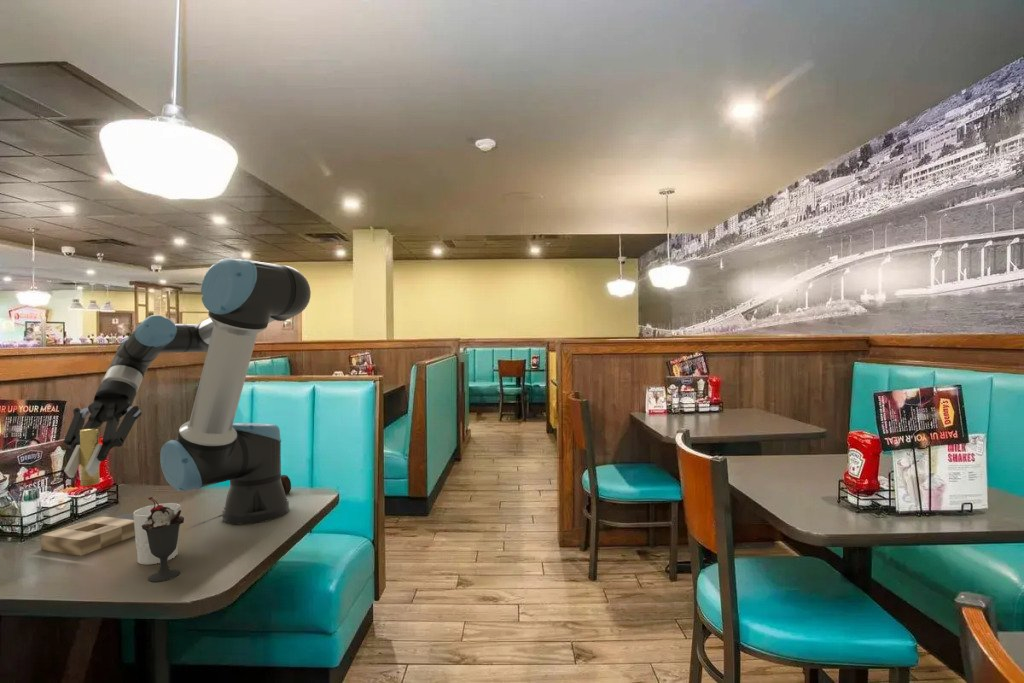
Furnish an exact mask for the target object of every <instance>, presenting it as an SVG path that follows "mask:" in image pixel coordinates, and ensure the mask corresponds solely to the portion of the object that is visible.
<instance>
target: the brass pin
mask: <svg viewBox="0 0 1024 683" xmlns="http://www.w3.org/2000/svg"><path fill="white" fill-rule="evenodd" d="M99 430H100V428H99V427H98V428H89V429H83V428H82V430H80V465H79V468H80V471H79V472H80V487H89V486H94V485H98V484H100V483H101V482H100V466H99V467H98V469H97V472H96V474H95V476H92V477H90V475H89V474H88V473H87V472H86V470H85V469H86V467H87V465H88V462H89V460H90V458H91V456H92V454H93V452H94V449H95V447H96V445H97V444H100V442H99V441H100V436H99V435H100V432H99Z"/></svg>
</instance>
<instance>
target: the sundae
mask: <svg viewBox="0 0 1024 683" xmlns="http://www.w3.org/2000/svg"><path fill="white" fill-rule="evenodd" d="M148 500H150V501H152V502H153V505H154V508H152V509H151V510H150V512H151V515H149V516H148V517H147V520H146V521H145V524H144V525H142V526H141V527H142V529H144V530H146V532H147V537H148V542H149V548H150V551H151V554H153V555H154V556H155V557H158V558H159V559H160V563H159V569H158V571H157V572H155V573H152V574H150V575H149V576H148V578H147V581H148V582H151V583H158V582H159V583H160V582H164V581H169V580H171V578H172V579H173V578H176V577H178V576H179V574H180V570H179V569H173V568H171V569H170V568H169V565H168V564H169V562H168V561H169V560H168V557H169V556H170V555H171V554H172V553H173V552H174V550H175V549H176V546H177V541H178V533H179V534H180V528H179V527H180V526H181V524H183V523H184V521H185V517H184V516H181V513H182V510H181V509H180V510H179V511H178V512H177V513H176V514H174V510H172V509H171V508H169V507H163V506H162V505H159V504H160V503H158V502H157V500H155V499H154V498H153V497H152V496H151V497H148ZM155 504H157V505H158V506H157V507H156V508H155ZM178 542H179V541H178ZM175 576H176V577H175Z"/></svg>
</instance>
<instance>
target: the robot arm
mask: <svg viewBox="0 0 1024 683" xmlns="http://www.w3.org/2000/svg"><path fill="white" fill-rule="evenodd" d="M311 293H312V291H311V287H310V284H309V282H308V280H307V278H306V277H305V275H304V274H303V273H302V272H300V271H299V270H297V269H296V268H294V267H291V266H288V265H285V264H275V263H269V262H263V261H262V262H261V261H256V260H251V259H246V258H230V257H229V258H226V257H225V258H222V259H219V260H218V261H217V262H215V263H213V264H212V265H210V267H209V268H208V269H207V271H206V273H205V275H204V277H203V280H202V281H201V287H200V294H201V295H202V297H201V301H202V304H203V306H204V308H205V309H206V310H207V311H208V313H207V314H208V318H207V319H205V320H202V321H200V322H198V323H174V321H173V320H171V319H170V318H169V317H165V316H163V315H161V314H160V315H159V314H153V315H149V316H147V317H146V318H145V319H144V320H143V321H141V322H140V323H139V324H138V325H137V326H136V328H135V330H134V331H133V332H132V333H131V335H130V336H127V337H125V338H124V339H123V340H122V341H121V343H120V345H119V346H118V347H117V349H116V353H115V355H114V357H113V359H112V361H111V364H110V365H109V367H108V369H107V370H106V373H104V374H105V375H104V376H103V378H102V379H101V380H102V381H101V382H100V384H99V386H98V388H97V389H96V392H95V394H94V398H93V401H92V402H91V403H90V404H88V407H84V408H82V409H81V408H79V407H76V408H74V409H73V410H72V412H73V417H72V420H71V422H70V425H69V427H68V430H67V432H66V434H65V436H64V439H63V443H64V445H66V447H67V448H68V450H69V451H68V454H67V456H66V460H67V461H68V462H67V463H66V466H65V468H64V470H63V472H64V473H65V475H67V477H68V478H69V479H72V478H74V477H75V476H76V473H77V472H78V469H79V468H80V430H82V429H89V428H99V427H101V426H102V425H103V424H104V423H105V427H104V432H103V437H102V439H100V442H101V443H99V444H97V445H96V447H95V449H94V452H93V454H92V456H91V458H90V460H89V462H88V465H87V467H86V469H85V470H86V472H87V473H88V474H89V475H90V477H92V476H95V474H96V472H97V469H98V467H99V468H100V465H101V462H105V461H106V460H107V458H108V456H109V454H110V451H111V450H112V449H113V448H115V447H117V448H119V447H122V446H123V445H124V443H125V442H126V440H127V438H128V435H129V434H130V431H131V430H132V428H133V426H134V424H135V422H136V420H138V418H140V417H141V415H142V410H141V409H140V408H139V406H138V405H133V404H134V401H135V399H136V397H137V393H138V391H139V389H140V387H141V384H142V382H143V379H144V378H145V374H146V372H147V370H148V368H149V366H150V365H151V364H152V363H153V362H154V360H155V359H157V358H158V356H160V354H165V353H166V354H169V353H171V354H173V353H174V354H176V353H206V355H205V359H204V363H203V366H202V370H201V371H202V372H201V375H200V378H199V383H198V387H197V390H196V394H195V398H194V402H193V406H192V411H191V415H190V418H189V420H187V421H186V422H184V423H183V424H181V425H180V427H179V428H178V429H179V430H178V432H177V437H176V439H170V440H169V441H166V442H165V443H164V444H162V447H161V450H160V457H159V458H160V460H159V461H160V466H161V471H162V474H163V476H164V479H165V480H166V482H167V483H168V484H169V486H170V487H171V488H173V489H174V490H176V491H179V492H188V491H193V490H200V489H202V488H205V487H209V486H213V485H217V484H219V483H224V482H228V481H229V488H228V492H227V496H226V499H225V503H224V504H225V505H224V506H223V508H222V512H221V513H222V521H223V522H224V523H226V524H232V525H246V524H247V525H248V524H250V525H251V524H256V523H262V522H268V521H271V520H275V519H277V518H280V517H282V516H284V515H286V514H287V513H288V512H289V511H290V501H289V499H288V497H287V495H286V494H285V491H284V488H283V485H282V482H281V475H282V465H281V464H282V460H281V457H282V456H281V454H282V452H281V449H282V448H281V447H282V446H281V442H282V439H281V430H280V427H279V426H278V425H276V424H274V423H273V424H272V423H262V422H234V421H235V418H236V414H237V410H238V407H239V403H240V399H241V397H242V396H241V395H242V391H243V387H244V385H245V381H246V379H247V378H246V377H247V374H248V369H249V367H250V364H251V363H250V362H251V360H252V355H253V352H254V348H255V344H256V340H257V338H258V334H259V333H261V332H263V331H265V330H266V329H267V328H268V325H269V324H270V323H272V322H275V321H277V322H283V321H287V320H290V319H291V318H294V317H296V316H297V315H300V314H301V313H302V312H303V311H304V310H305V309H306V308H307V306H308V304H309V303H310V299H311ZM132 405H133V406H132ZM89 414H90V415H89ZM88 415H89V416H88ZM123 416H124V417H123ZM122 417H123V419H122V420H121V418H122ZM86 419H88V420H87V421H85V420H86ZM120 420H121V422H120ZM119 424H120V425H119Z"/></svg>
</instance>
